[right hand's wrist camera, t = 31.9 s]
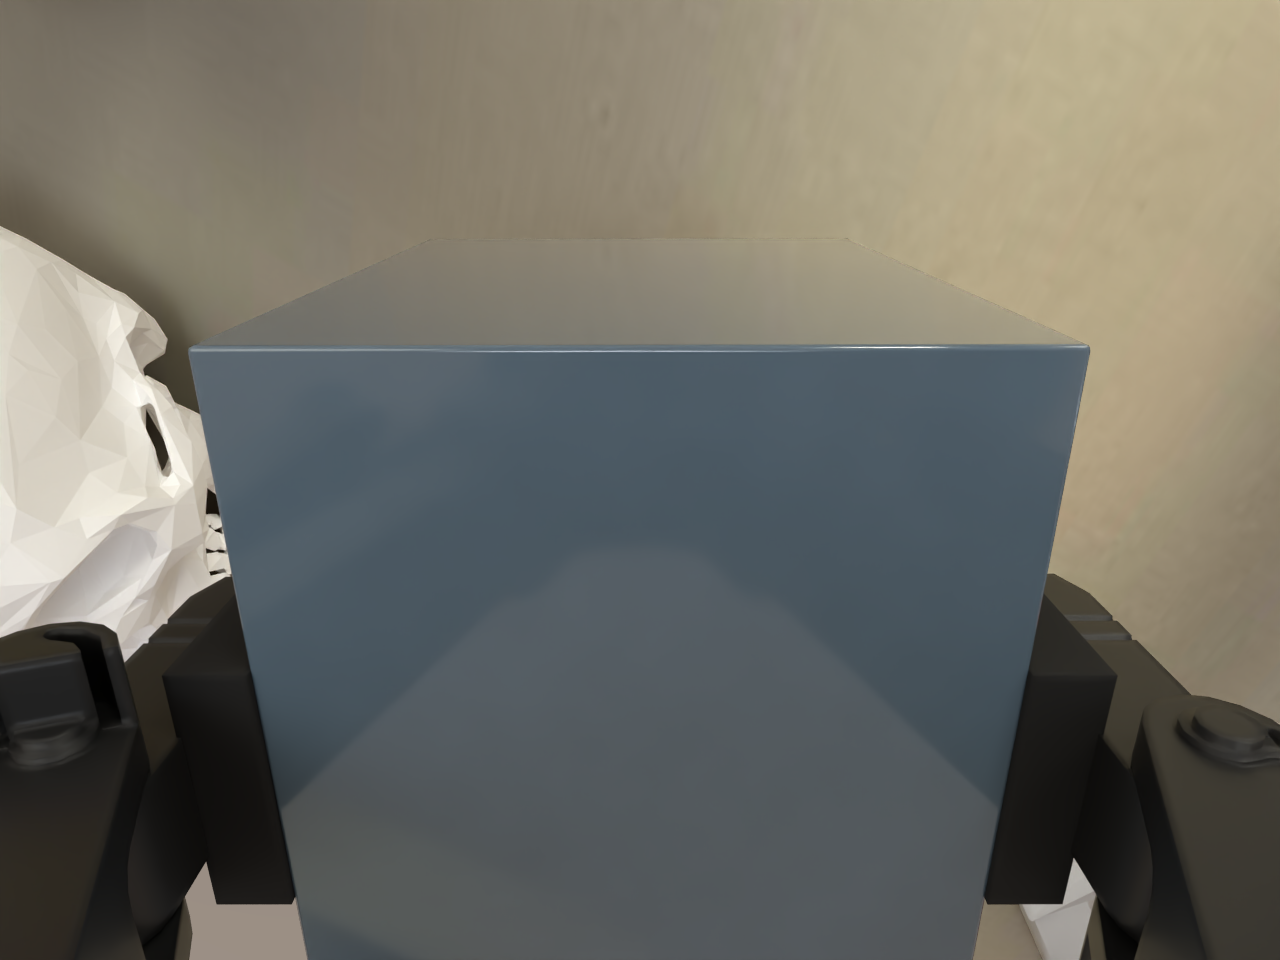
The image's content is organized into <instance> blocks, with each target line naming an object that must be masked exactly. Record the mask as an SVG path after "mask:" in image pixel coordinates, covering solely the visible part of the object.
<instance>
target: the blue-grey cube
mask: <svg viewBox="0 0 1280 960" xmlns="http://www.w3.org/2000/svg"><path fill="white" fill-rule="evenodd" d="M188 355H189V360H190V365H191V370H192V375H193V380H194V385H195V390H196V395H197V401H198V406H199V411H200V416H201V421H202V426H203V431H204V436H205V441H206V446H207V451H208V456H209V462H210V467H211V472H212V477H213V482H214V487H215V492H216V497H217V502H218V507H219V512H220V517H221V523H222V528H223V533H224V538H225V543H226V548H227V553H228V558H229V563H230V568H231V573H232V578H233V584H234V589H235V594H236V599H237V604H238V609H239V614H240V619H241V624H242V629H243V634H244V639H245V645H246V650H247V655H248V660H249V665H250V670H251V675H252V680H253V685H254V690H255V695H256V700H257V706H258V711H259V716H260V721H261V726H262V731H263V736H264V741H265V746H266V751H267V756H268V761H269V767H270V772H271V777H272V782H273V787H274V792H275V797H276V802H277V807H278V812H279V817H280V822H281V828H282V833H283V838H284V843H285V848H286V853H287V858H288V863H289V868H290V873H291V878H292V883H293V889H294V894H295V899H296V904H297V909H298V914H299V919H300V924H301V929H302V934H303V939H304V944H305V950H306V955H307V960H973V956H974V950H975V945H976V940H977V935H978V930H979V924H980V919H981V914H982V909H983V904H984V899H985V893H986V887H987V882H988V877H989V872H990V867H991V862H992V857H993V851H994V846H995V841H996V836H997V831H998V826H999V821H1000V815H1001V810H1002V805H1003V800H1004V795H1005V790H1006V785H1007V779H1008V774H1009V769H1010V764H1011V759H1012V753H1013V748H1014V743H1015V738H1016V733H1017V728H1018V722H1019V717H1020V712H1021V707H1022V702H1023V696H1024V691H1025V686H1026V681H1027V676H1028V671H1029V665H1030V660H1031V655H1032V650H1033V645H1034V639H1035V634H1036V629H1037V624H1038V619H1039V614H1040V608H1041V603H1042V598H1043V593H1044V588H1045V582H1046V577H1047V572H1048V567H1049V562H1050V557H1051V551H1052V546H1053V541H1054V536H1055V531H1056V526H1057V520H1058V515H1059V510H1060V505H1061V500H1062V494H1063V489H1064V484H1065V479H1066V474H1067V469H1068V463H1069V458H1070V453H1071V448H1072V443H1073V437H1074V432H1075V427H1076V422H1077V417H1078V412H1079V406H1080V401H1081V396H1082V391H1083V386H1084V380H1085V375H1086V370H1087V365H1088V360H1089V355H1090V347H1089V345H1086V344H1084V343H1082V342H1080V341H1077V340H1075V339H1073V338H1071V337H1068V336H1066V335H1064V334H1062V333H1059V332H1057V331H1055V330H1053V329H1050V328H1048V327H1046V326H1044V325H1041V324H1039V323H1037V322H1035V321H1032V320H1030V319H1028V318H1026V317H1023V316H1021V315H1019V314H1017V313H1014V312H1012V311H1010V310H1008V309H1005V308H1003V307H1001V306H999V305H996V304H994V303H992V302H990V301H987V300H985V299H983V298H981V297H978V296H976V295H974V294H971V293H969V292H967V291H965V290H962V289H960V288H958V287H956V286H953V285H951V284H949V283H947V282H944V281H942V280H940V279H938V278H935V277H933V276H931V275H929V274H926V273H924V272H922V271H920V270H917V269H915V268H913V267H911V266H908V265H906V264H904V263H902V262H899V261H897V260H895V259H893V258H890V257H888V256H886V255H884V254H881V253H879V252H877V251H875V250H872V249H870V248H868V247H866V246H863V245H861V244H859V243H857V242H854V241H852V240H850V239H848V238H778V239H429V240H427V241H425V242H423V243H421V244H418V245H416V246H414V247H412V248H409V249H407V250H405V251H403V252H400V253H398V254H396V255H394V256H392V257H389V258H387V259H385V260H383V261H380V262H378V263H376V264H374V265H371V266H369V267H367V268H365V269H363V270H360V271H358V272H356V273H354V274H351V275H349V276H347V277H345V278H342V279H340V280H338V281H336V282H334V283H331V284H329V285H327V286H325V287H322V288H320V289H318V290H316V291H313V292H311V293H309V294H307V295H305V296H302V297H300V298H298V299H296V300H293V301H291V302H289V303H287V304H284V305H282V306H280V307H278V308H276V309H273V310H271V311H269V312H267V313H264V314H262V315H260V316H258V317H255V318H253V319H251V320H249V321H247V322H244V323H242V324H240V325H238V326H235V327H233V328H231V329H229V330H226V331H224V332H222V333H220V334H218V335H215V336H213V337H211V338H209V339H206V340H204V341H202V342H200V343H197V344H195V345H193V346H191V347H189V350H188Z"/></svg>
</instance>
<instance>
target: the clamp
mask: <svg viewBox="0 0 1280 960" xmlns="http://www.w3.org/2000/svg"><path fill="white" fill-rule="evenodd" d="M1095 895H1096V893H1095V892H1094V890H1093V889H1092V887H1091V885H1090V884H1089V882H1088V880H1087V879H1086V877H1085V875H1084V874H1083V872H1082V870H1081V869H1080V867H1079V866H1078V864H1077V862H1076V861H1075V859H1073V863H1072V868H1071V872H1070V876H1069V880H1068V884H1067V888H1066V893H1065V897H1064V901H1063V904H1019V906H1020V909H1021V911H1022V913H1023V916H1024V918H1025V920H1026V923H1027V925H1028V927H1029V930H1030V932H1031V934H1032V937H1033V939H1034V941H1035V944H1036V946H1037V948H1038V951H1039V953H1040V955H1041V958H1042V960H1079V957H1080V954H1081V950H1082V946H1083V942H1084V938H1085V934H1086V930H1087V926H1088V923H1089V919H1090V915H1091V911H1092V907H1093V903H1094V899H1095Z"/></svg>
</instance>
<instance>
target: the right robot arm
mask: <svg viewBox="0 0 1280 960" xmlns="http://www.w3.org/2000/svg"><path fill="white" fill-rule="evenodd" d="M148 639H149V641H148V643H143V644H142V645H141V646H140V647H139V648H138V649H137V650H136V651H135V652H134V653H133V654H132V655H131V656H130V658H129V659H128V660H127V661H126V662H125V663H124V659H123V655H122V651H121V647H120V644H119V640H118V636H117V633H116V632H114V631H113V630H111V629H110V628H108V627H106V626H105V625H103V624H96V623H89V622H82V621H78V622H65V623H52V624H47V625H42V626H38V627H34V628H29V629H25V630H21V631H17V632H14V633H11V634H9V635H6V636H3V637H1V638H0V960H189V956H190V949H191V941H192V927H191V921H190V915H189V911H188V907H187V903H186V899H185V895H186V894H187V892H188V890H189V889H190V887H191V885H192V884H193V882H194V880H195V879H196V877H197V875H198V874H199V872H200V871H201V869H202V867H203V866H204V864H205V862H207V866H208V870H209V875H210V879H211V883H212V887H213V891H214V895H215V899H216V903H217V904H292V903H293V900H294V898H295V894H294V889H293V883H292V878H291V873H290V868H289V863H288V858H287V853H286V848H285V843H284V838H283V833H282V828H281V822H280V817H279V812H278V807H277V802H276V797H275V792H274V787H273V782H272V777H271V772H270V767H269V761H268V756H267V751H266V746H265V741H264V736H263V731H262V726H261V721H260V716H259V711H258V706H257V700H256V695H255V690H254V685H253V680H252V675H251V670H250V665H249V660H248V655H247V650H246V645H245V639H244V634H243V629H242V624H241V619H240V614H239V609H238V604H237V599H236V594H235V589H234V584H233V578H232V577H224V578H223V579H221V580H219V581H217V582H215V583H213V584H212V585H210V586H208V587H206V588H204V589H203V590H201V591H199V592H197V593H195V594H194V595H192V596H190V597H189V598H188V599H187V600H186V601H185V602H184V603H183V604H182V605H181V606H180V607H179V608H178V609H177V610H176V611H175V612H174V613H173V614H172V615H171V616H170V617H169V618H168V622H167V624H162V625H161V626H160V627H159V628H158V629H157V630H156V631H155V632H154V633H153V634H152V635H151V636H150V637H149V638H148ZM1073 859H1075V861H1076V862H1077V864H1078V866H1079V867H1080V869H1081V870H1082V872H1083V874H1084V875H1085V877H1086V879H1087V880H1088V882H1089V884H1090V885H1091V887H1092V889H1093V890H1094V892H1095V893H1096V895H1095V899H1094V903H1093V907H1092V911H1091V915H1090V919H1089V923H1088V926H1087V930H1086V934H1085V938H1084V942H1083V946H1082V950H1081V954H1080V957H1079V960H1280V725H1279V724H1277V723H1276V722H1275V721H1273V720H1272V719H1270V718H1267V717H1265V716H1263V715H1261V714H1258V713H1256V712H1254V711H1252V710H1249V709H1247V708H1245V707H1243V706H1240V705H1237V704H1233V703H1229V702H1226V701H1222V700H1218V699H1214V698H1211V697H1204V696H1193V695H1191V694H1190V693H1189V692H1188V691H1187V690H1186V689H1185V688H1184V687H1183V686H1182V685H1181V684H1180V683H1179V682H1178V681H1177V680H1176V679H1175V678H1174V677H1173V676H1172V675H1171V674H1170V673H1169V672H1168V671H1167V670H1166V669H1165V668H1164V667H1163V666H1162V665H1161V664H1160V663H1159V662H1158V661H1157V660H1156V659H1155V658H1154V657H1153V656H1152V655H1151V654H1150V653H1149V652H1148V651H1147V650H1146V649H1145V648H1144V647H1143V646H1142V645H1141V644H1140V643H1139V642H1138V641H1137V640H1132V638H1131V634H1130V633H1129V632H1128V631H1127V630H1126V629H1125V628H1124V627H1123V626H1122V625H1121V624H1120V623H1119V622H1118V621H1113V619H1112V615H1111V614H1110V613H1109V612H1108V611H1107V610H1106V609H1105V608H1104V607H1103V606H1102V605H1101V604H1100V603H1099V602H1098V601H1097V600H1096V599H1095V598H1094V597H1093V596H1092V595H1091V594H1090V593H1088V592H1086V591H1084V590H1083V589H1081V588H1079V587H1077V586H1075V585H1073V584H1072V583H1070V582H1068V581H1066V580H1064V579H1063V578H1061V577H1059V576H1057V575H1055V574H1047V577H1046V582H1045V588H1044V593H1043V598H1042V603H1041V608H1040V614H1039V619H1038V624H1037V629H1036V634H1035V639H1034V645H1033V650H1032V655H1031V660H1030V665H1029V671H1028V676H1027V681H1026V686H1025V691H1024V696H1023V702H1022V707H1021V712H1020V717H1019V722H1018V728H1017V733H1016V738H1015V743H1014V748H1013V753H1012V759H1011V764H1010V769H1009V774H1008V779H1007V785H1006V790H1005V795H1004V800H1003V805H1002V810H1001V815H1000V821H999V826H998V831H997V836H996V841H995V846H994V851H993V857H992V862H991V867H990V872H989V877H988V882H987V887H986V893H985V900H986V902H987V904H1063V901H1064V897H1065V893H1066V888H1067V884H1068V880H1069V876H1070V872H1071V868H1072V863H1073Z"/></svg>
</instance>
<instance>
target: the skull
mask: <svg viewBox="0 0 1280 960" xmlns="http://www.w3.org/2000/svg"><path fill="white" fill-rule="evenodd" d="M166 345H167V338H166V336H165V334H164V333H163V331H162V330H161V328H160V327H159V325H158V323H157V322H156V320H155V319H154V318H153V317H152V316H150V315H149V314H148V313H147V312H146V311H145V310H143V309H142V308H141V307H140V306H139V305H138V304H136V303H135V302H134V301H133V300H132V299H130V298H129V297H128V296H127V295H126V294H125V293H122V292H120V291H117V290H115V289H113V288H111V287H109V286H107V285H105V284H104V283H102V282H100V281H98V280H96V279H95V278H93V277H91V276H89V275H88V274H86V273H84V272H83V271H81V270H79V269H78V268H76V267H75V266H73V265H71V264H70V263H68V262H67V261H65V260H63V259H62V258H60V257H58V256H56V255H54V254H53V253H51V252H49V251H47V250H46V249H44V248H42V247H40V246H38V245H37V244H35V243H33V242H31V241H30V240H28V239H26V238H24V237H22V236H20V235H18V234H16V233H14V232H12V231H10V230H7V229H5V228H3V227H1V226H0V638H1V637H3V636H6V635H9V634H11V633H14V632H17V631H21V630H25V629H29V628H34V627H38V626H42V625H47V624H52V623H65V622H78V621H82V622H89V623H96V624H103V625H105V626H106V627H108V628H110V629H111V630H113V631H114V632H116V633H117V636H118V640H119V644H120V647H121V651H122V655H123V659H124V662H126V661H127V660H128V659H129V658H130V656H131V655H132V654H133V653H134V652H135V651H136V650H137V649H138V648H139V647H140V646H141V645H142V644H143V643H148V641H149V639H148V638H149V637H150V636H151V635H152V634H153V633H154V632H155V631H156V630H157V629H158V628H159V627H160V626H161V625H162V624H167V622H168V618H169V617H170V616H171V615H172V614H173V613H174V612H175V611H176V610H177V609H178V608H179V607H180V606H181V605H182V604H183V603H184V602H185V601H186V600H187V599H188V598H189V597H190V596H192V595H194V594H195V593H197V592H199V591H201V590H203V589H204V588H206V587H208V586H210V585H212V584H213V583H215V582H217V581H219V580H221V579H223V578H224V577H232V573H231V568H230V563H229V558H228V553H227V548H226V543H225V538H224V533H223V528H222V523H221V517H220V515H217V514H206V501H207V488H208V489H209V490H211V491H212V492H213V493H215V494H216V492H215V487H214V482H213V477H212V472H211V467H210V462H209V456H208V451H207V446H206V441H205V436H204V431H203V426H202V421H201V416H200V414H198V413H196V412H194V411H192V410H190V409H188V408H186V407H184V406H181V405H179V404H177V403H175V402H174V400H173V398H172V396H171V394H170V392H169V390H168V388H167V387H166V386H165V385H163V384H162V383H160V382H158V381H156V380H154V379H153V378H151V377H149V376H147V375H146V376H145V375H144V371H143V369H144V367H145V366H146V365H147V364H149V363H150V362H152V361H154V360H155V359H157V358H159V357H160V356H162V355H163V354H165V350H166ZM146 410H147V412H148V413H149V415H150V417H151V419H152V420H153V422H154V424H155V425H156V427H157V429H158V431H159V432H160V434H161V436H162V437H163V438H164V442H165V445H166V448H167V452H168V455H169V458H168V460H167V463H166V465H165V468H164V469H163V470H161V467H160V464H159V461H158V459H157V456H156V450H155V447H154V445H153V443H152V441H151V439H150V437H149V435H148V433H147V430H146ZM218 528H220V530H221V533H222V534H221V533H219V532H215V531H214V530H216V529H218ZM206 549H209V550H213V551H216V550H224V553H218V552H214V553H207V554H206ZM214 570H216V571H217V572H220V573H221V574H216V575H212V576H210V573H209V572H210V571H214Z"/></svg>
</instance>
